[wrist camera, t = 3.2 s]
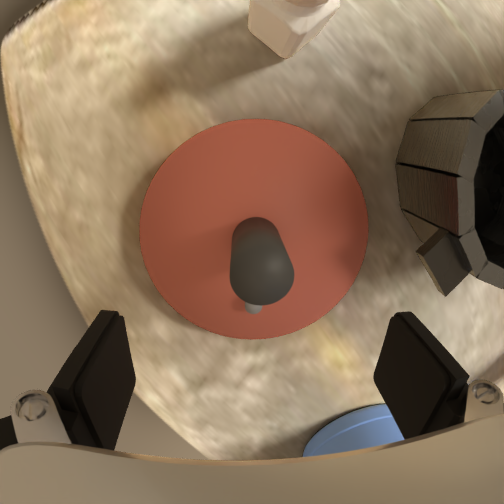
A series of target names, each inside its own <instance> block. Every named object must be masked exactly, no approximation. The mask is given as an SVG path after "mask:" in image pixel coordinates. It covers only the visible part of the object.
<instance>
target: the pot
mask: <svg viewBox="0 0 504 504" xmlns="http://www.w3.org/2000/svg"><path fill="white" fill-rule="evenodd" d="M409 120H410V121H411V122H408V123H407V127H406V130H405V134H404V137H403V140H402V143H401V147H400V150H399V153H398V156H397V159H396V162H398V163H400V164H396V172H397V180H398V189H399V199H400V207H401V208H402V209H401V210H402V212H403V213H404V215H405V216H406V218H407V220H408V221H409V223H410V224H411V226H412V228H413V229H414V231H415V232H416V234H417V236H418V237H419V239H420V240H421V241H422V242H423V243H424V244H423V245H422V246H421V247H420V248H419V249H418V250H416V253H417V255H418V256H419V258H420V260H421V261H422V263H423V265H424V266H425V268H426V270H427V272H428V273H429V275H430V277H431V279H432V280H433V282H434V284H435V286H436V287H437V289H438V291H439V292H440V293H442V294H443V295H444V296H445V297H446V296H447V295H448V294H449V293H450V292H451V291H452V290H453V289H454V288H455V287H456V286H457V285H458V284H459V283H460V282H461V281H462V280H463V279H464V278H465V277H466V276H467V275H468V274H469V273H470V274H471V275H473V276H474V277H476V278H477V279H479V280H482V281H484V282H486V283H489V284H491V285H494V286H496V287H498V288H501V289H504V90H488V91H478V92H468V93H460V94H452V95H444V96H437V97H434V98H433V99H432V100H431V101H430V102H428V103H427V104H426V105H425V106H424V107H423V108H422V109H421V110H419V111H418V112H417V113H416V114H415V115H414V116H413V117H412V118H410V119H409ZM468 272H469V273H468Z"/></svg>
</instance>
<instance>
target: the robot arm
mask: <svg viewBox="0 0 504 504" xmlns="http://www.w3.org/2000/svg"><path fill="white" fill-rule="evenodd" d="M468 378H469V375H468V374H467V373H466V371H465V370H464V369H463V368H462V367H461V366H460V364H459V363H458V362H457V361H456V360H455V359H454V358H453V356H452V355H451V354H450V353H449V352H448V351H447V350H446V349H445V347H444V346H443V345H442V344H441V343H440V342H439V341H438V340H437V339H436V338H435V336H434V335H433V334H432V333H431V332H430V331H429V330H428V329H427V328H426V327H425V326H424V325H423V323H422V322H421V321H420V320H419V319H418V318H417V317H416V316H415V315H414V314H413V313H412V312H397V313H396V314H395V315H394V317H391V319H390V322H389V325H388V329H387V333H386V336H385V340H384V343H383V346H382V350H381V353H380V356H379V359H378V362H377V366H376V369H375V372H374V382H375V384H376V386H377V388H378V390H379V392H380V394H381V395H382V397H383V399H384V401H385V403H386V405H387V407H388V409H389V410H390V412H391V414H392V416H393V418H394V420H395V422H396V424H397V426H398V428H399V430H400V432H401V434H402V436H403V437H404V439H405V440H401V441H397V442H393V443H388V444H384V445H379V446H374V447H369V448H364V449H358V450H353V451H347V452H340V453H334V454H326V455H318V456H309V457H299V458H287V459H272V460H195V459H181V458H169V457H159V456H149V455H140V454H134V453H126V452H120V451H114V449H115V446H116V442H117V439H118V435H119V433H120V429H121V426H122V423H123V420H124V417H125V414H126V411H127V408H128V405H129V402H130V399H131V396H132V393H133V390H134V387H135V382H136V377H135V372H134V367H133V363H132V358H131V353H130V348H129V343H128V338H127V332H126V327H125V321H124V317H123V316H119V313H118V312H117V311H108V310H101V311H100V312H99V314H98V315H97V317H96V318H95V320H94V321H93V322H92V324H91V325H90V327H89V328H88V330H87V331H86V333H85V334H84V336H83V337H82V339H81V340H80V342H79V343H78V345H77V346H76V347H75V348H74V350H73V351H72V353H71V354H70V356H69V357H68V359H67V360H66V362H65V363H64V365H63V367H62V368H61V370H60V371H59V373H58V375H57V376H56V378H55V379H54V381H53V383H52V384H51V386H50V387H49V389H48V391H47V392H44V391H41V390H29V391H26V392H24V393H21V394H20V395H19V396H17V397H16V398H15V400H14V401H13V403H12V405H11V415H10V416H8V417H5V418H2V419H0V504H504V401H503V393H502V392H501V390H500V389H499V388H498V387H497V386H496V385H495V384H493V383H492V382H489V381H487V380H475V381H473V382H472V383H471V384H470V385H468V384H467V383H466V382H467V380H468Z"/></svg>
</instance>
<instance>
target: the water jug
mask: <svg viewBox="0 0 504 504" xmlns="http://www.w3.org/2000/svg"><path fill="white" fill-rule="evenodd" d="M401 440H405V439H404V437H403V436H402V434H401V432H400V430H399V428H398V426H397V424H396V422H395V420H394V418H393V416H392V414H391V412H390V410H389V409H388V407H387V405H386V404H380V405H374V406H369V407H366V408H362V409H359V410H356V411H353V412H351V413H348V414H346V415H344V416H342V417H340V418H338V419H336V420H334V421H333V422H331V423H329V424H328V425H326V426H325V427H324V428H322V429H321V430H320V431H319V432H317V433H316V434H315V435H314V436H313V437H312V438H311V440H310V441H309V442H308V444H307V445H306V447H305V450H304V453H303V457H309V456H318V455H326V454H334V453H340V452H347V451H353V450H358V449H364V448H369V447H374V446H379V445H384V444H388V443H393V442H397V441H401Z"/></svg>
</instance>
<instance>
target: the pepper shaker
mask: <svg viewBox="0 0 504 504" xmlns="http://www.w3.org/2000/svg"><path fill="white" fill-rule="evenodd" d="M339 6H340V1H339V0H250V6H249V17H248V29H249V31H250V32H251V33H252V34H253V35H254V36H256V37H257V38H258V39H259V40H261V41H262V42H263V43H264V44H266V45H267V46H268V47H269V48H270V49H272V50H273V51H274V52H275V53H276V54H277V55H279V56H280V57H283V58H285V59H287V58H290V57H292V56H293V55H294V54H295V53H297V52H298V51H299V50H300V49H301V48H302V47H304V46H305V45H306V44H307V43H308V42H309V41H311V40H312V39H313V38H314V37H315V36H317V35H318V33H319V32H320V31H321V30H322V28H323V27H324V26H325V25H326V23H327V22H328V21H329V19H330V18H331V17H332V16H333V14H334V13H335V12H336V11H337V10H338V8H339Z"/></svg>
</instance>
